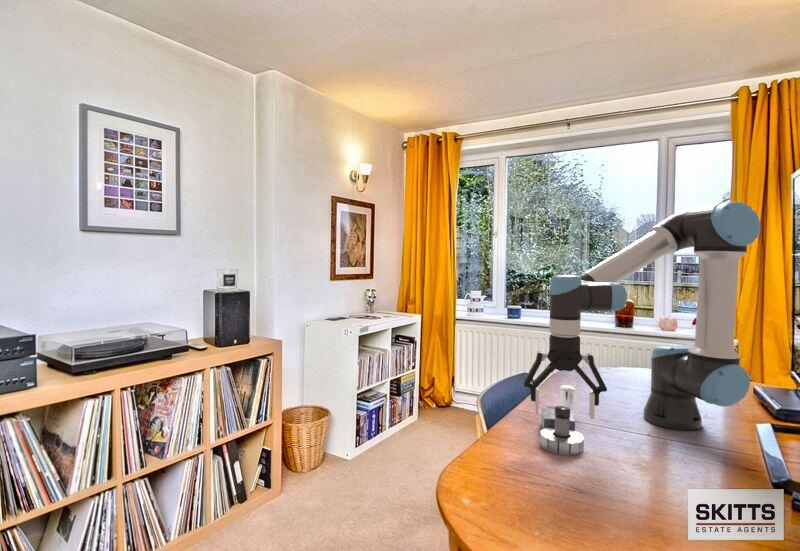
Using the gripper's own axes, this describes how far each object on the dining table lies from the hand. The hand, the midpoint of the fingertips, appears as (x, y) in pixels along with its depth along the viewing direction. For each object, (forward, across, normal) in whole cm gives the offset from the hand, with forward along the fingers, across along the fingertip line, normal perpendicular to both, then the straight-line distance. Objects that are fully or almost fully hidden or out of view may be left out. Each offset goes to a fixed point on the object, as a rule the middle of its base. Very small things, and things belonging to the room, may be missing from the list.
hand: (563, 415), depth 115 cm
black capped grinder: (+8, 0, 0) cm, 8 cm away
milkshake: (+9, -4, -26) cm, 28 cm away
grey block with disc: (+8, +1, -6) cm, 10 cm away
